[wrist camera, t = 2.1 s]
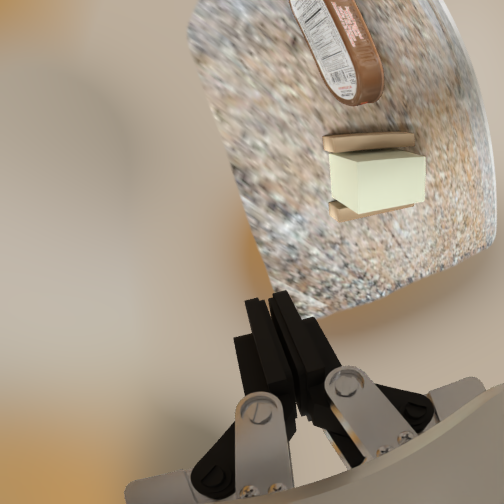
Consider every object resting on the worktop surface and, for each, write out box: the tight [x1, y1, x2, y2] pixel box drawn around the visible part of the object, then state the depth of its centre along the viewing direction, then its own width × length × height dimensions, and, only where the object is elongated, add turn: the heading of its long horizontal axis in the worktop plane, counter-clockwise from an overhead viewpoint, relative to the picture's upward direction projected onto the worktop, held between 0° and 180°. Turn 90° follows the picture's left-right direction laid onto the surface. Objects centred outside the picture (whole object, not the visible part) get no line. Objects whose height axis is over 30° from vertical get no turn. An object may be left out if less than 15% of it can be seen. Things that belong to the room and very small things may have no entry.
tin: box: [289, 0, 384, 106], centre depth 18 cm, size 15×3×8 cm, turn 23°
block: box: [329, 148, 426, 214], centre depth 26 cm, size 5×9×6 cm, turn 99°
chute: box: [322, 131, 415, 223], centre depth 27 cm, size 9×11×2 cm
